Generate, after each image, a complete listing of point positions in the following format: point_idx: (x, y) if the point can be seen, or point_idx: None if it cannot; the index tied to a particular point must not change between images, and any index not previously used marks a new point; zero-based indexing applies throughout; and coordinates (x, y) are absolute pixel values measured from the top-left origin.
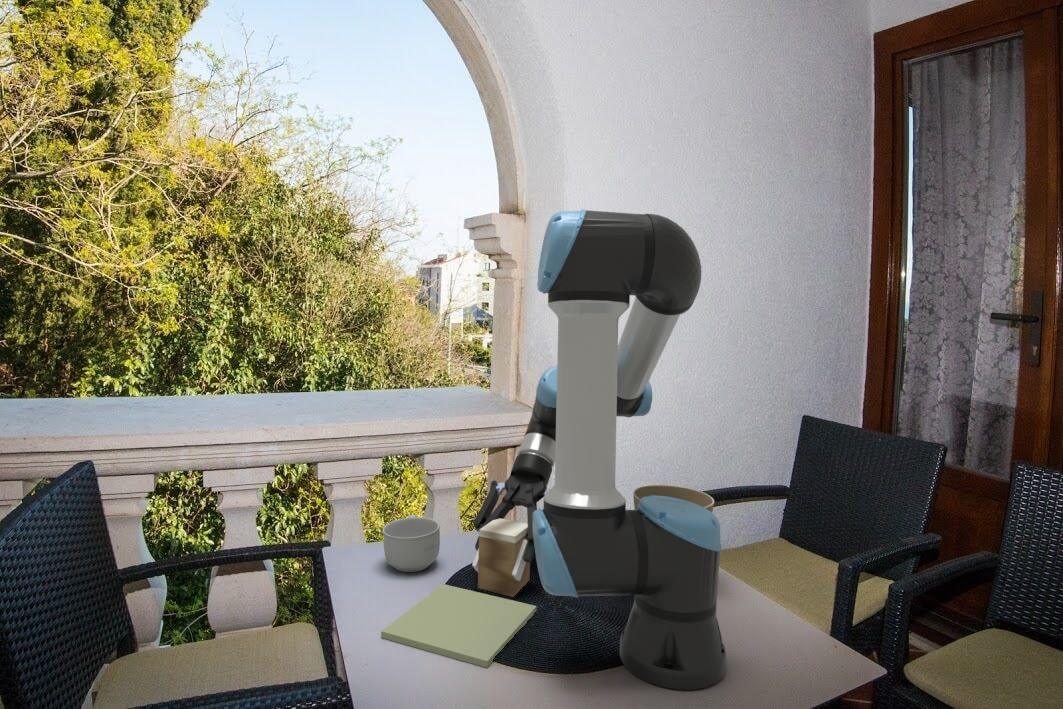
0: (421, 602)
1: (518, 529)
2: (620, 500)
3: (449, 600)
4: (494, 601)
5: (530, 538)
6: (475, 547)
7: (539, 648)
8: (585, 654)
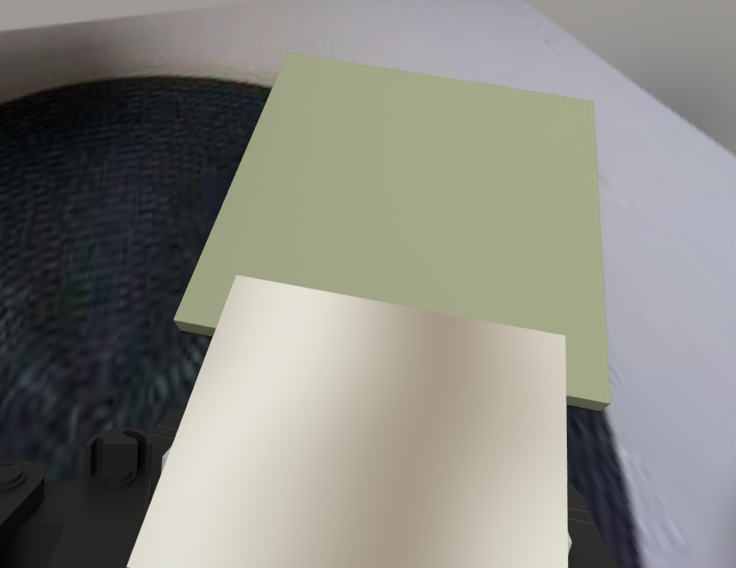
0: (592, 246)
1: (227, 442)
2: None
3: (510, 282)
4: None
5: (126, 428)
6: (569, 486)
7: (165, 148)
8: (32, 148)
